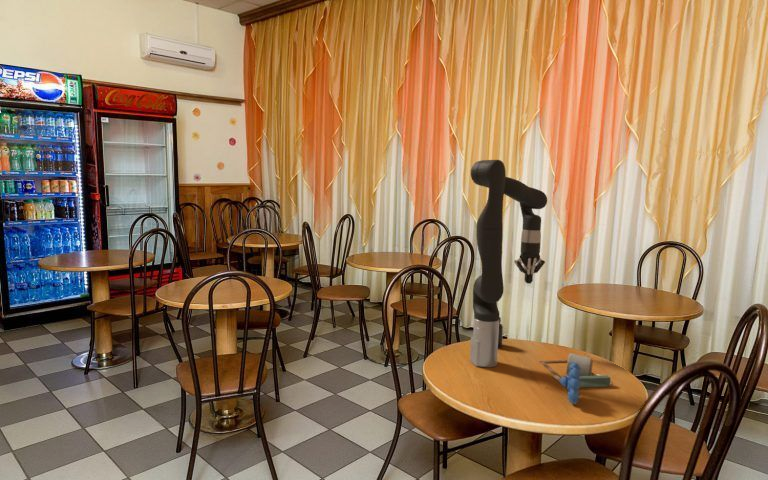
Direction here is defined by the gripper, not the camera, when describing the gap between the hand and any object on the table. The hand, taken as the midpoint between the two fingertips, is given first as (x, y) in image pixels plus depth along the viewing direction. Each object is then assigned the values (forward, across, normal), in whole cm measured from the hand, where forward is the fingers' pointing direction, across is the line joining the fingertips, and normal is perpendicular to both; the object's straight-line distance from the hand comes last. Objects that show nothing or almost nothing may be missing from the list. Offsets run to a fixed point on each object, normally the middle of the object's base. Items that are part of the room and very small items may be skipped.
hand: (528, 283), depth 199 cm
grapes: (+27, -10, -48) cm, 56 cm away
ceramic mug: (+27, +5, -30) cm, 41 cm away
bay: (+27, +4, -28) cm, 39 cm away
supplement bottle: (+27, -12, +4) cm, 30 cm away
